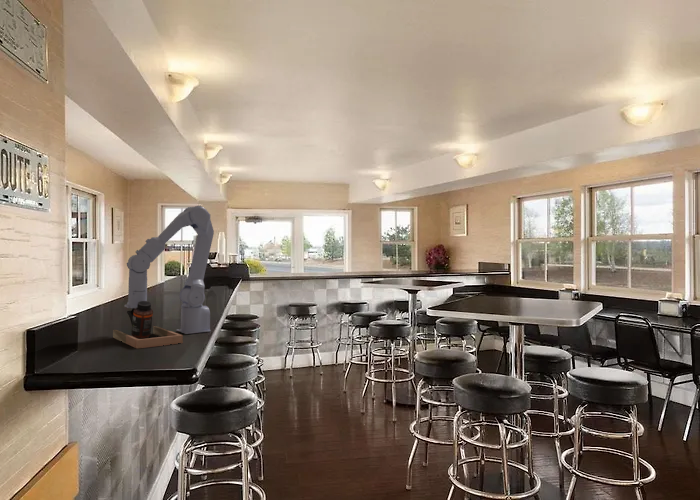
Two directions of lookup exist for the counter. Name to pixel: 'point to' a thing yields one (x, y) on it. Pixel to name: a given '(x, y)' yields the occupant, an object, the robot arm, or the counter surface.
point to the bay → (165, 338)
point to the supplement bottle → (142, 320)
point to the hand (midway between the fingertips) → (136, 331)
